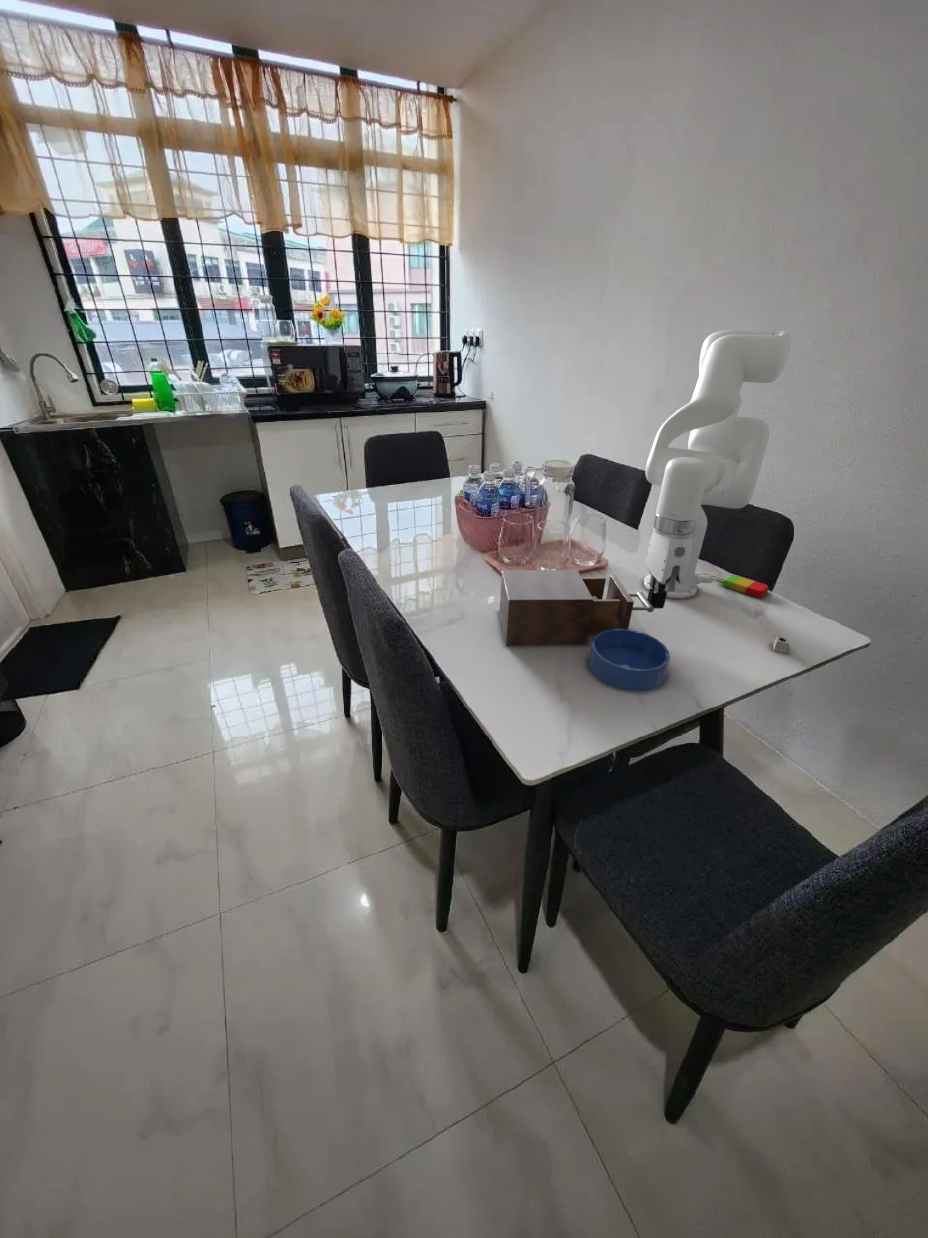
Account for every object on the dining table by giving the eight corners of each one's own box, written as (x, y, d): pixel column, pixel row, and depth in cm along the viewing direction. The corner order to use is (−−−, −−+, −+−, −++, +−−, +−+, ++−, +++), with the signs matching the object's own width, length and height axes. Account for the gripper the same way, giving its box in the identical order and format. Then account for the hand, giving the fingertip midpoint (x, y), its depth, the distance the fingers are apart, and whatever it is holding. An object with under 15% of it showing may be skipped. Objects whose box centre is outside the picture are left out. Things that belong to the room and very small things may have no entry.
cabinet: (571, 612, 115) (577, 570, 110) (586, 644, 103) (593, 599, 98) (499, 612, 114) (501, 570, 109) (505, 645, 103) (509, 599, 97)
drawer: (633, 609, 115) (641, 574, 110) (653, 638, 104) (662, 601, 99) (541, 610, 114) (545, 575, 109) (551, 639, 103) (556, 602, 99)
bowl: (648, 647, 103) (653, 628, 100) (676, 690, 91) (682, 670, 88) (581, 648, 102) (584, 629, 100) (599, 691, 90) (603, 671, 88)
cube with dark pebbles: (773, 650, 102) (777, 640, 101) (772, 645, 104) (776, 635, 103) (785, 652, 102) (789, 642, 100) (784, 647, 103) (788, 637, 102)
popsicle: (760, 599, 122) (762, 592, 121) (699, 578, 131) (701, 572, 130) (768, 592, 125) (770, 585, 124) (709, 573, 134) (710, 566, 133)
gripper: (711, 538, 91) (686, 624, 101) (677, 512, 104) (658, 590, 114) (670, 538, 91) (650, 624, 100) (641, 512, 104) (625, 590, 113)
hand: (654, 606), depth 107 cm, fingers closed
